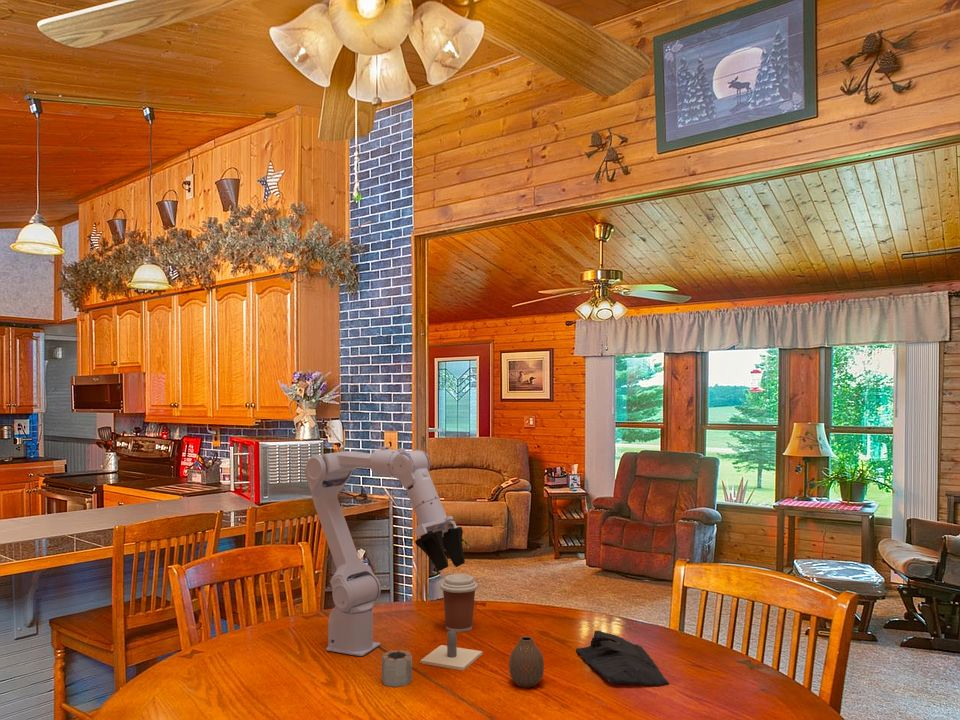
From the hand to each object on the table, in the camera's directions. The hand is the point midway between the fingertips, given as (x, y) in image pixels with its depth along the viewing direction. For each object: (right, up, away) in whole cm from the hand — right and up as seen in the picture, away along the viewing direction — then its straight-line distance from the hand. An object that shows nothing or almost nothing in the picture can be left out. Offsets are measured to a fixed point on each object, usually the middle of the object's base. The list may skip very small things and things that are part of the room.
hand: (452, 567), depth 147 cm
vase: (+15, -22, -3) cm, 27 cm away
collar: (-11, -22, -2) cm, 25 cm away
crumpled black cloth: (+35, -23, +6) cm, 42 cm away
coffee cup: (+1, -23, +30) cm, 38 cm away
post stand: (0, -22, +10) cm, 24 cm away
